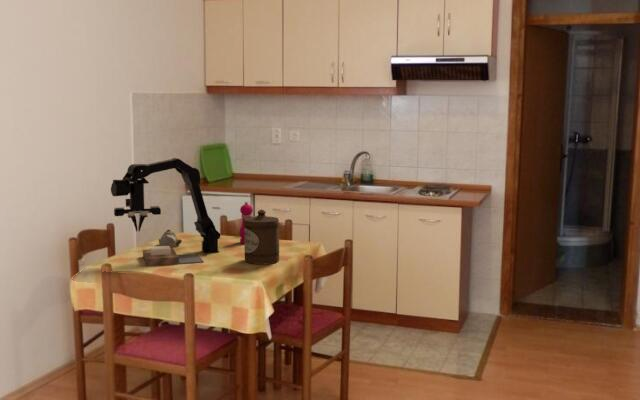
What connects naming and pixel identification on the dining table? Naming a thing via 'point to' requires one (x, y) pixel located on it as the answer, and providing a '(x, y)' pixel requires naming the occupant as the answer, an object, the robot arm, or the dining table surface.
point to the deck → (160, 258)
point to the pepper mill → (246, 213)
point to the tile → (160, 250)
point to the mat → (190, 258)
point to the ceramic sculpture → (169, 239)
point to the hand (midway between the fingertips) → (137, 231)
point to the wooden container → (261, 239)
